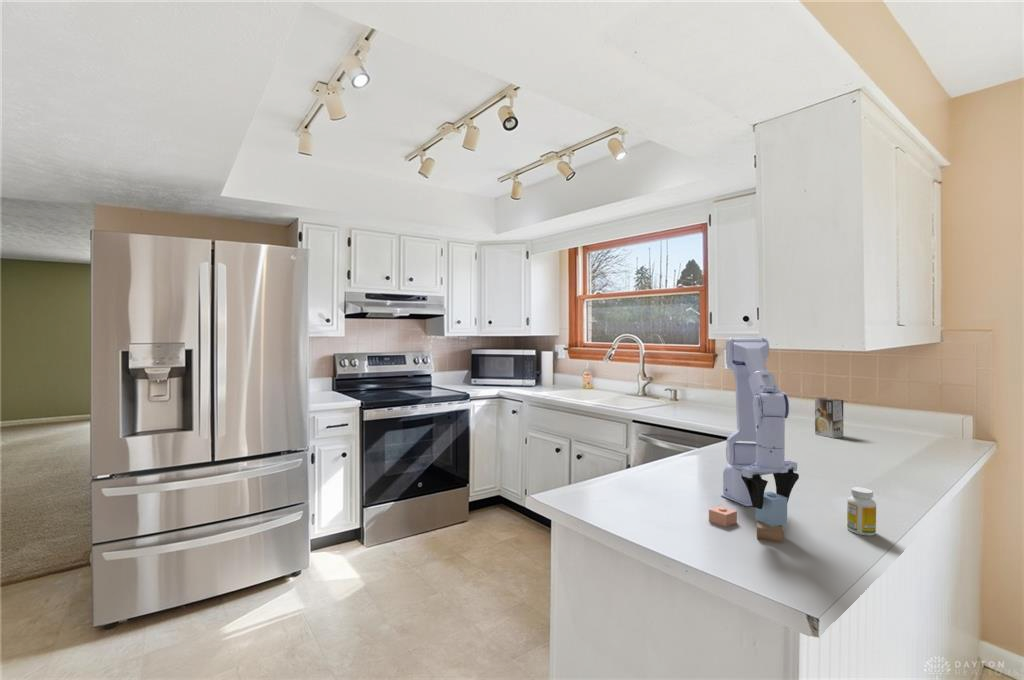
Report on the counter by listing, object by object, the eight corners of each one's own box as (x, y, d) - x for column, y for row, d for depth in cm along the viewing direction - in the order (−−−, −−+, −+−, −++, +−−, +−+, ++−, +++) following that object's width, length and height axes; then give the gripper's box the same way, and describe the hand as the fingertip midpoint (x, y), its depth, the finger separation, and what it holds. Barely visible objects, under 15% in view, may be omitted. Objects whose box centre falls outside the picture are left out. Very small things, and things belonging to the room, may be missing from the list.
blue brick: (755, 519, 112) (755, 491, 112) (770, 517, 114) (770, 489, 114) (771, 526, 108) (772, 498, 108) (787, 524, 109) (787, 495, 109)
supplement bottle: (845, 531, 111) (845, 489, 111) (849, 524, 115) (849, 484, 115) (874, 538, 108) (874, 495, 108) (877, 531, 112) (877, 489, 112)
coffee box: (844, 437, 209) (844, 399, 209) (833, 438, 207) (833, 400, 207) (824, 433, 218) (825, 397, 218) (813, 434, 216) (814, 397, 216)
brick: (708, 521, 118) (708, 508, 118) (719, 517, 121) (719, 504, 121) (726, 527, 115) (726, 513, 115) (736, 523, 117) (736, 509, 117)
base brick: (756, 524, 117) (756, 512, 117) (780, 528, 115) (780, 515, 114) (756, 540, 108) (757, 527, 108) (782, 545, 106) (782, 531, 106)
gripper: (760, 453, 104) (760, 516, 105) (809, 446, 110) (809, 506, 110) (734, 445, 111) (734, 504, 111) (782, 440, 116) (781, 496, 116)
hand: (769, 505), depth 111 cm, fingers open, 7 cm apart
